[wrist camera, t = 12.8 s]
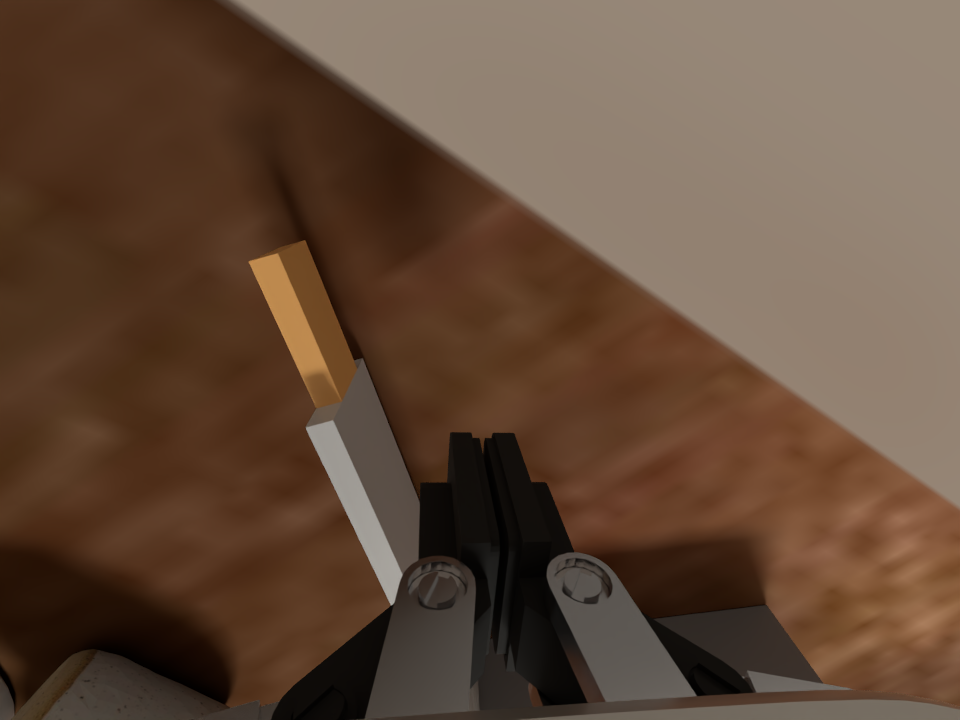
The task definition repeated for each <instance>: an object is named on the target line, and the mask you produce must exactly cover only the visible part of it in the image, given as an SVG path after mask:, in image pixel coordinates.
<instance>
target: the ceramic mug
mask: <svg viewBox="0 0 960 720" xmlns="http://www.w3.org/2000/svg"><path fill="white" fill-rule="evenodd" d="M229 708H230V707H228V706H226V705H224V704H222V703H220V702H218V701H216V700H213V699H211V698H209V697H207V696H205V695H203V694H201V693H199V692H197V691H195V690H193V689H191V688H188V687H186V686H184V685H182V684H180V683H178V682H175V681H173V680H171V679H168V678H166V677H164V676H161V675H159V674H156V673H154V672H153V671H151V670H149V669H147V668H145V667H143V666H140V665H138V664H136V663H135V662H133V661H131V660H129V659H127V658H125V657H123V656H120V655H116V654H112V653H108V652H104V651H100V650H96V649H90V650H84V651H81V652H78V653H75V654H73V655H72V656H70V657H69V658H68V659H67V660H66V661H65V662H64V663H63V664H62V665H61V666H60V667H59V668H58V669H57V670H56V671H55V672H54V673H53V674H52V675H51V676H50V677H49V678H48V679H47V680H46V681H45V682H44V683H43V685H42V686H41V687H40V688H39V689H38V690H37V691H36V692H35V693H34V695H33V696H32V697H31V698H30V699H29V700H28V701H27V702H26V703H25V704H24V705H23V707H22V708H21V709H20V710H19V711H18V712H17V713H16V714H15V716H14V717H13V718H12V719H11V720H191V719H194V718H198V717H201V716H205V715H208V714H212V713H215V712H219V711H222V710H226V709H229Z"/></svg>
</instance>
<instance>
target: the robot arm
mask: <svg viewBox="0 0 960 720" xmlns="http://www.w3.org/2000/svg"><path fill="white" fill-rule="evenodd" d="M491 632H492V639H493V646H494V652H495V654H503V655H504V661H505V668H506V672H511V671H516V672H517V673H518V674H520V675H521V676H522V677H523V678H524V679H526V680H527V681H528V682H529V686H528V690H529V695H530V700H531V702H532V705H533V707H524V708H509V709H494V710H480V711H469V696H470V689H471V688H472V687H473V685H474V684H475V683H476V682H477V681H478V679H479V678H480V677H481V676H482V675H483V673H484V668H485V659H486V655H488V652H489V644H490V635H491ZM13 717H14V702H13V699H12V697H11V694H10V691H9V689H8V686H7V685H6V683H5V682H4V680H3V679H2V678H1V676H0V720H11V719H12V718H13ZM191 720H960V707H959V706H956V705H952V704H949V703H946V702H942V701H938V700H933V699H927V698H922V697H917V696H912V695H907V694H902V693H891V692H880V691H869V690H852V689H849V688H844V687H839V686H833V685H827V684H821V683H816V682H810V681H804V680H799V679H793V678H787V677H782V676H776V675H770V674H765V673H759V672H753V671H748V670H747V672H746V674H745V677H743V676H741V675H740V674H739V673H738V672H737V671H736V670H734V669H733V668H732V667H730V666H729V665H728V664H726V663H725V662H724V661H722V660H720V659H719V658H717V657H715V656H714V655H712V654H710V653H709V652H707V651H705V650H704V649H702V648H700V647H699V646H697V645H695V644H694V643H692V642H690V641H689V640H687V639H685V638H684V637H682V636H680V635H679V634H677V633H675V632H674V631H672V630H670V629H669V628H667V627H665V626H664V625H662V624H660V623H659V622H657V621H655V620H654V619H652V618H650V617H649V616H647V615H645V614H644V613H642V612H640V610H639V609H638V607H637V606H636V604H635V603H634V601H633V600H632V598H631V597H630V595H629V594H628V592H627V591H626V589H625V588H624V586H623V585H622V583H621V582H620V580H619V579H618V577H617V576H616V574H615V573H614V572H613V571H612V570H611V568H610V567H609V566H608V565H606V564H605V563H603V562H602V561H601V560H599V559H597V558H595V557H592V556H590V555H587V554H582V553H575V552H574V550H573V547H572V545H571V542H570V540H569V537H568V535H567V532H566V530H565V527H564V525H563V522H562V520H561V517H560V515H559V512H558V510H557V507H556V505H555V502H554V500H553V497H552V495H551V492H550V490H549V487H548V485H547V484H546V483H545V482H531V480H530V477H529V474H528V471H527V468H526V466H525V463H524V460H523V457H522V454H521V451H520V448H519V446H518V443H517V440H516V437H515V434H514V433H493V434H492V438H485V441H484V450H483V453H482V448H481V444H480V439H479V438H472V434H471V433H458V432H451V433H450V443H449V461H448V478H447V483H421V485H420V515H419V552H418V561H416V562H415V563H413V564H411V565H410V566H409V567H408V568H407V569H406V570H405V571H404V573H403V575H402V578H401V580H400V583H399V587H398V591H397V594H396V598H395V602H394V604H393V605H391V606H390V607H389V608H388V609H386V610H385V611H384V612H383V613H382V614H380V615H379V616H378V617H377V618H376V619H374V620H373V621H372V622H371V623H369V624H368V625H367V626H366V627H365V628H363V629H362V630H361V631H360V632H358V633H357V634H356V635H355V636H354V637H352V638H351V639H350V640H349V641H347V642H346V643H345V644H344V645H343V646H341V647H340V648H339V649H338V650H337V651H335V652H334V653H333V654H332V655H330V656H329V657H328V658H327V659H326V660H324V661H323V662H322V663H321V664H319V665H318V666H317V667H316V668H315V669H313V670H312V671H311V672H310V673H308V674H307V675H306V676H305V677H304V678H302V679H301V680H300V681H299V682H297V683H296V684H295V685H294V686H293V687H292V688H291V689H290V690H289V691H288V692H287V693H286V694H285V695H284V696H283V697H282V699H281V700H280V701H279V702H276V703H272V704H269V705H265V706H262V707H261V705H260V700H257V701H254V702H250V703H247V704H243V705H240V706H236V707H233V708H229V709H226V710H222V711H219V712H215V713H212V714H208V715H205V716H201V717H198V718H194V719H191Z"/></svg>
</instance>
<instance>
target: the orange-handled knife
mask: <svg viewBox="0 0 960 720" xmlns="http://www.w3.org/2000/svg"><path fill="white" fill-rule="evenodd" d="M249 263H250V266H251V268H252V270H253V272H254V274H255V276H256V279H257V281H258V283H259V285H260V287H261V289H262V292H263V294H264V296H265V298H266V300H267V302H268V305H269V307H270V309H271V311H272V313H273V315H274V318H275V320H276V322H277V324H278V326H279V328H280V331H281V333H282V335H283V337H284V339H285V341H286V344H287V346H288V348H289V350H290V352H291V354H292V357H293V359H294V361H295V363H296V365H297V367H298V370H299V372H300V374H301V376H302V378H303V380H304V383H305V385H306V387H307V389H308V391H309V393H310V396H311V398H312V400H313V402H314V404H315V406H316V410H315V412H314V413H313V415H312V417H311V419H310V421H309V422H308V424H307V426H306V430H307V432H308V434H309V436H310V438H311V440H312V442H313V444H314V446H315V448H316V450H317V453H318V455H319V457H320V459H321V461H322V463H323V465H324V467H325V469H326V471H327V473H328V475H329V477H330V480H331V482H332V484H333V486H334V488H335V490H336V492H337V494H338V496H339V498H340V500H341V502H342V504H343V507H344V509H345V511H346V513H347V515H348V517H349V519H350V521H351V523H352V525H353V527H354V529H355V532H356V534H357V536H358V538H359V540H360V542H361V544H362V546H363V548H364V550H365V552H366V554H367V556H368V559H369V561H370V563H371V565H372V567H373V569H374V571H375V573H376V575H377V577H378V579H379V581H380V583H381V586H382V588H383V590H384V592H385V594H386V596H387V598H388V600H389V602H390V604H391V605H393V604H394V602H395V598H396V594H397V591H398V587H399V583H400V580H401V578H402V575H403V573H404V571H405V570H406V569H407V568H408V567H409V566H410V565H411V564H413V563H415V562H416V561H418V552H419V515H420V502H419V499H418V497H417V494H416V492H415V489H414V487H413V484H412V482H411V479H410V477H409V474H408V472H407V469H406V467H405V464H404V461H403V459H402V456H401V454H400V451H399V449H398V446H397V444H396V441H395V439H394V436H393V434H392V431H391V429H390V426H389V424H388V421H387V419H386V416H385V413H384V411H383V408H382V406H381V403H380V401H379V398H378V396H377V393H376V391H375V388H374V386H373V383H372V381H371V378H370V376H369V373H368V370H367V368H366V365H365V363H364V360H363V358H361V359H357V360H354V359H353V357H352V355H351V352H350V350H349V347H348V345H347V342H346V340H345V337H344V335H343V332H342V330H341V327H340V325H339V322H338V320H337V317H336V315H335V313H334V310H333V308H332V305H331V303H330V300H329V298H328V295H327V293H326V290H325V288H324V285H323V283H322V280H321V278H320V275H319V273H318V271H317V268H316V266H315V263H314V261H313V258H312V256H311V253H310V251H309V248H308V246H307V243H306V241H305V240H304V241H300V242H297V243H293V244H289V245H286V246H282V247H279V248H277V249H275V250H273V251H271V252H268V253H266V254H264V255H262V256H260V257H257V258H255V259H253V260H251V261H249ZM469 711H480V707H479V687H478V681H477V682H476V683H475V684H474V685H473V687H472V688H471V689H470V696H469Z"/></svg>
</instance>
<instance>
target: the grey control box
mask: <svg viewBox="0 0 960 720" xmlns="http://www.w3.org/2000/svg"><path fill="white" fill-rule="evenodd" d="M654 620H655V621H657V622H659V623H660V624H662V625H664V626H665V627H667V628H669V629H670V630H672V631H674V632H675V633H677V634H679V635H680V636H682V637H684V638H685V639H687V640H689V641H690V642H692V643H694V644H695V645H697V646H699V647H700V648H702V649H704V650H705V651H707V652H709V653H710V654H712V655H714V656H715V657H717V658H719V659H720V660H722V661H724V662H725V663H726V664H728V665H729V666H730V667H732V668H733V669H734V670H736V671H737V672H738V673H739V674H740V675H741V676H743V677H745V674H746V672H747V670H748V671H753V672H759V673H765V674H770V675H776V676H782V677H787V678H793V679H799V680H804V681H810V682H816V683H821V684H823V682H822V681H821V680H820V678H819V677H818V675H817V674H816V673H815V671H814V670H813V669H812V667H811V666H810V664H809V663H808V662H807V660H806V659H805V657H804V656H803V655H802V653H801V652H800V651H799V649H798V648H797V646H796V645H795V644H794V642H793V641H792V640H791V638H790V637H789V635H788V634H787V633H786V631H785V630H784V628H783V627H782V626H781V624H780V623H779V622H778V620H777V619H776V617H775V616H774V615H773V613H772V612H771V611H770V609H769V608H768V606H767V605H763V606H755V607H747V608H738V609H730V610H722V611H714V612H706V613H698V614H689V615H681V616H673V617H665V618H657V619H654ZM528 686H529V682H528V681H527V680H526V679H524V678H523V677H522V676H521V675H520V674H518V673H517V672H516V671H511V672H506V668H505V661H504V655H503V654H495V652H494V646H493V639H490V644H489V652H488V655H486V659H485V668H484V673H483V675H482V676H481V677H480V678H479V679H478V687H479V707H480V710H494V709H509V708H524V707H533V705H532V702H531V700H530V695H529V690H528Z"/></svg>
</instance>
